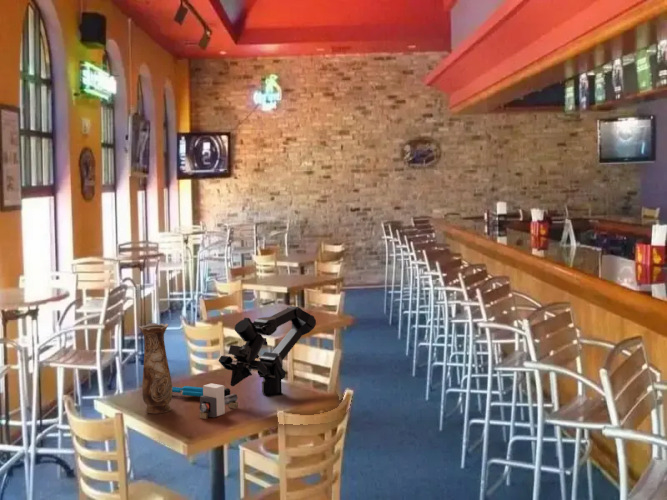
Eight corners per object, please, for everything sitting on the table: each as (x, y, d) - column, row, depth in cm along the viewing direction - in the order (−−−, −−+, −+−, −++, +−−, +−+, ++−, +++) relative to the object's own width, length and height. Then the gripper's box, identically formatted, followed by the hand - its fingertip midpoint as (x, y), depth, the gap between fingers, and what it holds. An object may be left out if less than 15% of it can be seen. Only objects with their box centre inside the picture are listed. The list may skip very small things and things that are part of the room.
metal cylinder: (231, 406, 285) (231, 392, 285) (237, 407, 283) (237, 394, 283) (199, 417, 272) (199, 403, 272) (206, 419, 270) (205, 404, 270)
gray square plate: (203, 413, 276) (202, 395, 275) (216, 416, 272) (216, 398, 272) (200, 414, 275) (199, 396, 274) (213, 417, 271) (213, 399, 270)
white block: (211, 410, 279) (211, 383, 278) (224, 413, 276) (224, 385, 275) (203, 413, 276) (202, 385, 275) (216, 416, 272) (215, 388, 271)
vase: (164, 415, 275) (161, 328, 273) (136, 413, 278) (133, 327, 276) (178, 407, 285) (175, 323, 283) (150, 405, 288) (148, 322, 286)
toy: (152, 397, 299) (224, 404, 289) (152, 382, 299) (224, 389, 288) (164, 392, 306) (234, 399, 296) (163, 377, 306) (234, 384, 296)
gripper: (221, 333, 291) (200, 369, 283) (261, 338, 280) (240, 376, 272) (236, 350, 298) (216, 386, 290) (275, 356, 287) (256, 394, 279)
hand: (231, 385), depth 282 cm, fingers closed
